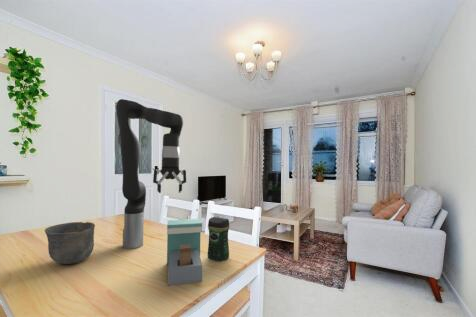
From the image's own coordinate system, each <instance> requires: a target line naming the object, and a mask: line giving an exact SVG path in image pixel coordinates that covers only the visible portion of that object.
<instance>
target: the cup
mask: <svg viewBox="0 0 476 317" xmlns="http://www.w3.org/2000/svg"><path fill="white" fill-rule="evenodd" d="M95 227H96V225H95V222H89V221H87V222H83V221H78V222H77V221H74V222H67V223H66V222H65V223H60V224H55V225H52V226H48V227H46V228H45V229H44V233H45V235H46V238H47V244H48V246H47V249H48V250H47V251H48V255H49V257H50V259H51V260H52V261H53V262H56V263H58V264H61V265H74V264H77V263H78V264H79V262H82V261H85V260H86V259H87V258H89V257H90V256H91V254H92V253H93V252H94V247H95V243H94V242H95V240H94V239H95V238H94V237H95V229H96V228H95Z"/></svg>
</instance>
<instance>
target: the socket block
mask: <svg viewBox="0 0 476 317" xmlns="http://www.w3.org/2000/svg"><path fill="white" fill-rule="evenodd" d="M179 258H180V250H179V251H170V252H169V265H168V268H167V270H168V271H167V273H168V274H167V276H168V277H167V285H168V286H175V285H176V286H177V285H182V284H183V285H184V284H192V283H201V282H203V263H202V259H201V253H200V254H199V250H198V249H191V265H183V266H179Z"/></svg>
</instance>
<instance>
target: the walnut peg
mask: <svg viewBox="0 0 476 317" xmlns="http://www.w3.org/2000/svg"><path fill="white" fill-rule="evenodd" d="M183 265H191V245H190V244H185V245H180V258H179V266H183Z"/></svg>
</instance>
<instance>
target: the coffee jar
mask: <svg viewBox="0 0 476 317" xmlns="http://www.w3.org/2000/svg"><path fill="white" fill-rule="evenodd" d="M207 228H208V229H207V230H208V245H207V258H208V259H209V260H211V261H213V262H220V263H221V262H225V261H227V260H229V258H230V248H229V229H230V219H228V218H224V217H219V216H213V217H210V218H208V223H207Z"/></svg>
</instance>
